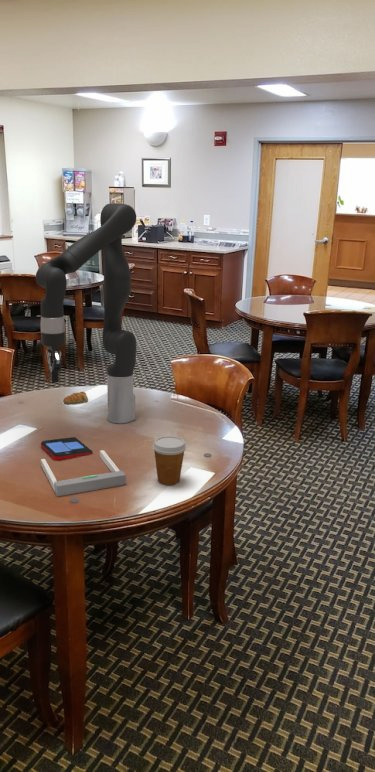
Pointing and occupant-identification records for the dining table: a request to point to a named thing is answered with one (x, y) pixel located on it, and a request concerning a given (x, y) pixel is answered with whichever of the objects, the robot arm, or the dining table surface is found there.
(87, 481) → the charging dock
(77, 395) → the pastry
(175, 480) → the disposable coffee cup
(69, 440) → the game console
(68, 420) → the dining table surface
